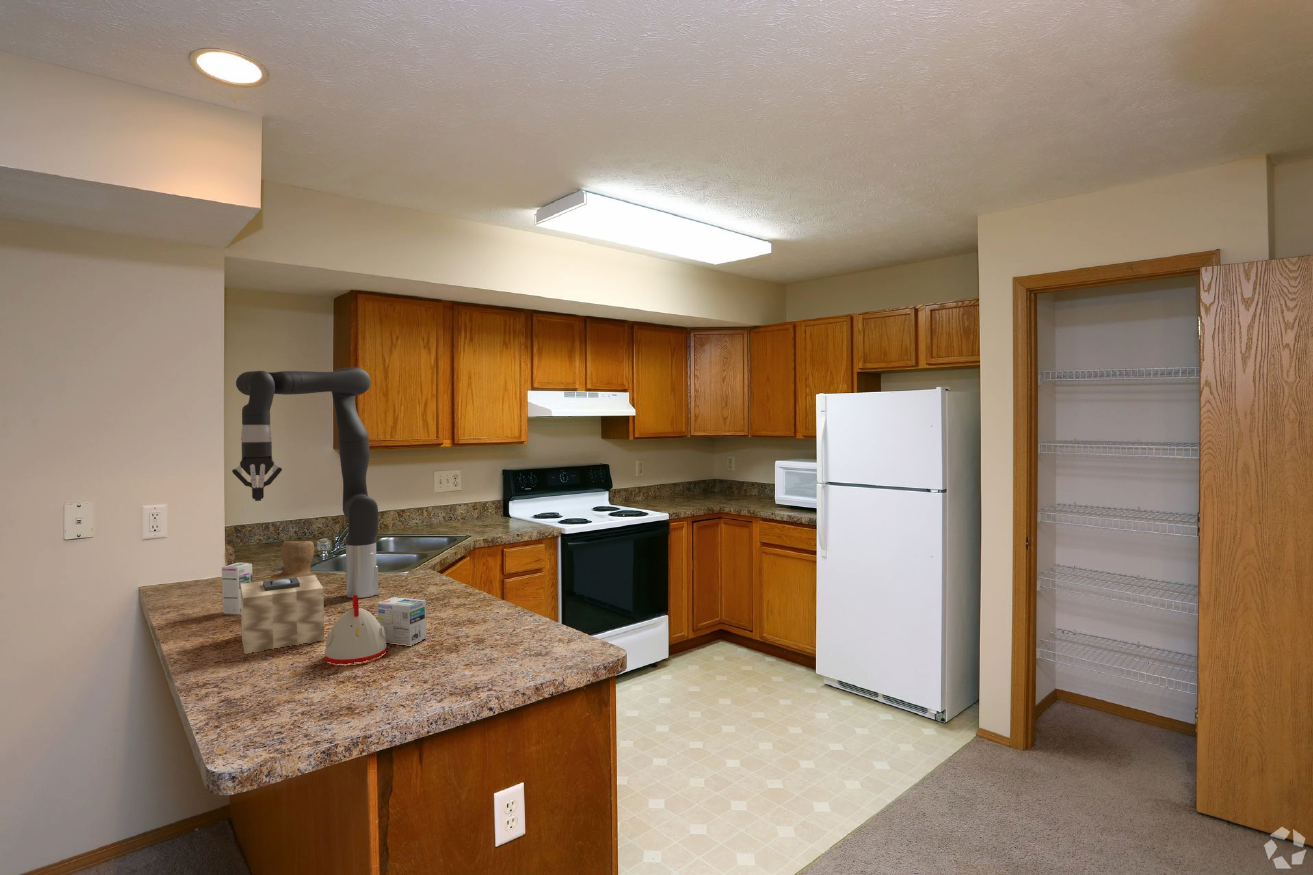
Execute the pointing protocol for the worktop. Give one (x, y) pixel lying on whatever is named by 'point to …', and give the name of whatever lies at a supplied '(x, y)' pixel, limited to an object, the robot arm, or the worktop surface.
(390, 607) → the light bulb box
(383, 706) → the worktop surface
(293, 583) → the rubber collar
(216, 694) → the worktop surface
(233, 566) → the syrup box
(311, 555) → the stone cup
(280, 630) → the birch block
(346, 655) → the kitchen timer
